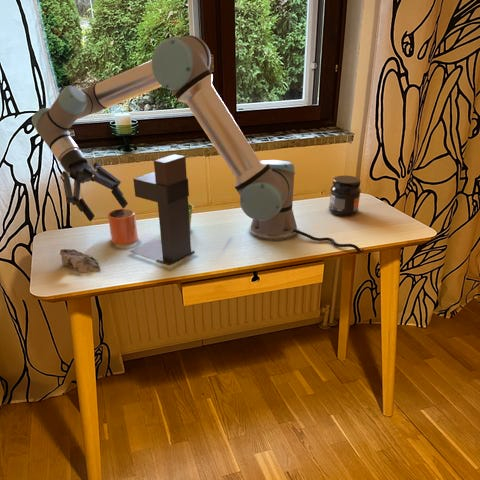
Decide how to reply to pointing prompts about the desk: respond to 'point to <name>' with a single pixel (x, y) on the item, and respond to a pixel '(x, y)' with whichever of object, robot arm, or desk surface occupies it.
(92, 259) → the mineral rock
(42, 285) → the desk surface
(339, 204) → the supplement container
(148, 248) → the coffee maker
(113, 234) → the cup
